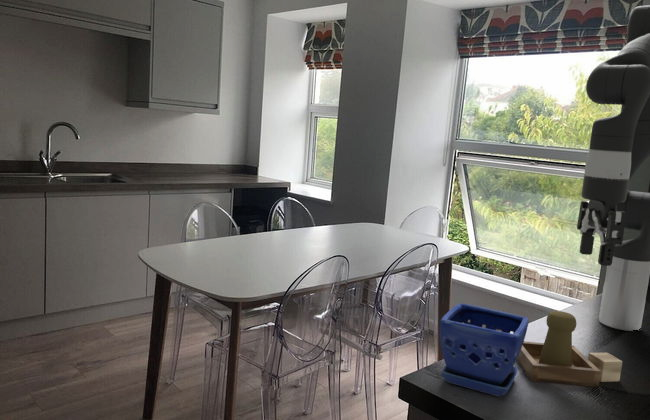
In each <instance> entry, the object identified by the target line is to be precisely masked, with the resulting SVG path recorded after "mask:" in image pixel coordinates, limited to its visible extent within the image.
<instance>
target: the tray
mask: <svg viewBox="0 0 650 420" xmlns="http://www.w3.org/2000/svg"><path fill="white" fill-rule="evenodd" d="M543 345H544V342H534V341H526V340H524V342H523V345H522V348H521V351H520V353H519V356H518V358H517V361H518V362H519V363H518V362H517V361H516V362H517V363H518V365H519V364H520V365H521V366H520V365H519V366H520V368H521V367H522V368H523V369H522V368H521V369H522V371H525V372H524V373H525V374H526V375H528V376H527V377H528V379H529V378H530V379H529V380H530V382H537V381H538V382H539V383H549V384H560V385H561V384H562V385H570V386H571V385H572V386H582V387H583V386H585V387H593V388H594V387H595V388H599V386H600V381H599V380H600V374H601V371H600V370H599V369H598V368H597V367H596V366H595V365H594V364H593V363H591V362H590V361H589V360H588V358H587V357H586V356H585V355H584V354H583V353H582V352H581V351H580V350H579V349H578V348H577V347H576V346H575V345H572V367H570V366H559V365H548V364H538V363H539V359H540V356H541V352H542V349H543Z"/></svg>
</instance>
